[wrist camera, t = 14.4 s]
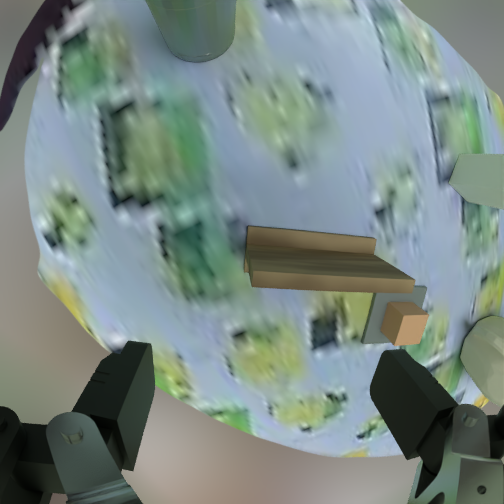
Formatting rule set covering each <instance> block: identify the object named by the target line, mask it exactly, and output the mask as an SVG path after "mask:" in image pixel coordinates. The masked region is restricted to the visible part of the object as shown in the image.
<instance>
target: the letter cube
mask: <svg viewBox="0 0 504 504" xmlns="http://www.w3.org/2000/svg"><path fill="white" fill-rule="evenodd" d="M428 316H429V314H427V313H426V312H425V311H424V310H422V309H421V308H420V307H418V306H417V305H416V304H415V303H413V302H388V304H387V308H386V312H385V316H384V319H383V323H382V326H381V330H380V331H381V332H382V333H383V334H384V335H385V336H386V337H387V338H388V339H389V341H390V342H391V343H392V344H393V345H394V346H398V345H410V344H419V343H420V340H421V337H422V335H423V332H424V329H425V326H426V323H427V319H428Z"/></svg>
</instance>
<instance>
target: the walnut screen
mask: <svg viewBox="0 0 504 504" xmlns="http://www.w3.org/2000/svg"><path fill="white" fill-rule="evenodd" d="M375 245H376V239H375V238H371V237H362V236H353V235H343V234H334V233H324V232H314V231H304V230H293V229H282V228H271V227H259V226H248V231H247V242H246V252H245V263H244V272H248V273H249V276H250V281H251V286H252V287H260V288H277V289H295V290H316V291H339V292H368V293H412V292H413V288H414V284H415V279H413V278H412V277H410V276H408V275H407V274H405V273H404V272H402V271H400V270H399V269H397V268H395V267H394V266H392V265H391V264H389V263H387V262H386V261H384V260H382V259H381V258H379V257H377V256H376V255H374V250H375Z"/></svg>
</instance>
